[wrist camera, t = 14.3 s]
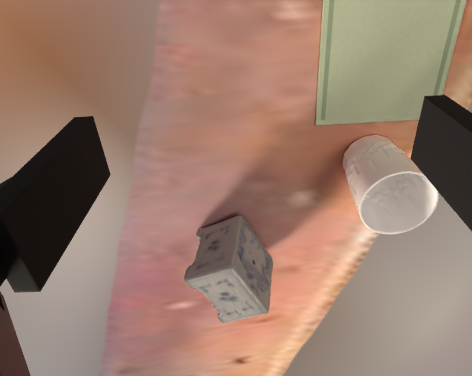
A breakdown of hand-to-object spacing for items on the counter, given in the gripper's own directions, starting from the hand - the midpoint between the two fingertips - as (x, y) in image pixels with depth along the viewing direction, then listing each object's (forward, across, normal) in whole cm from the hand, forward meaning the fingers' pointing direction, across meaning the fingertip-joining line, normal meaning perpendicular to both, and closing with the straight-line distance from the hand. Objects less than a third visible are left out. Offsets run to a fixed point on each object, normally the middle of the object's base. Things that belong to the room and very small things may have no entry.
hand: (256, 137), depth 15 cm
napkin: (+27, +15, -2) cm, 30 cm away
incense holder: (+27, -4, -29) cm, 39 cm away
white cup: (+27, +15, -16) cm, 34 cm away
